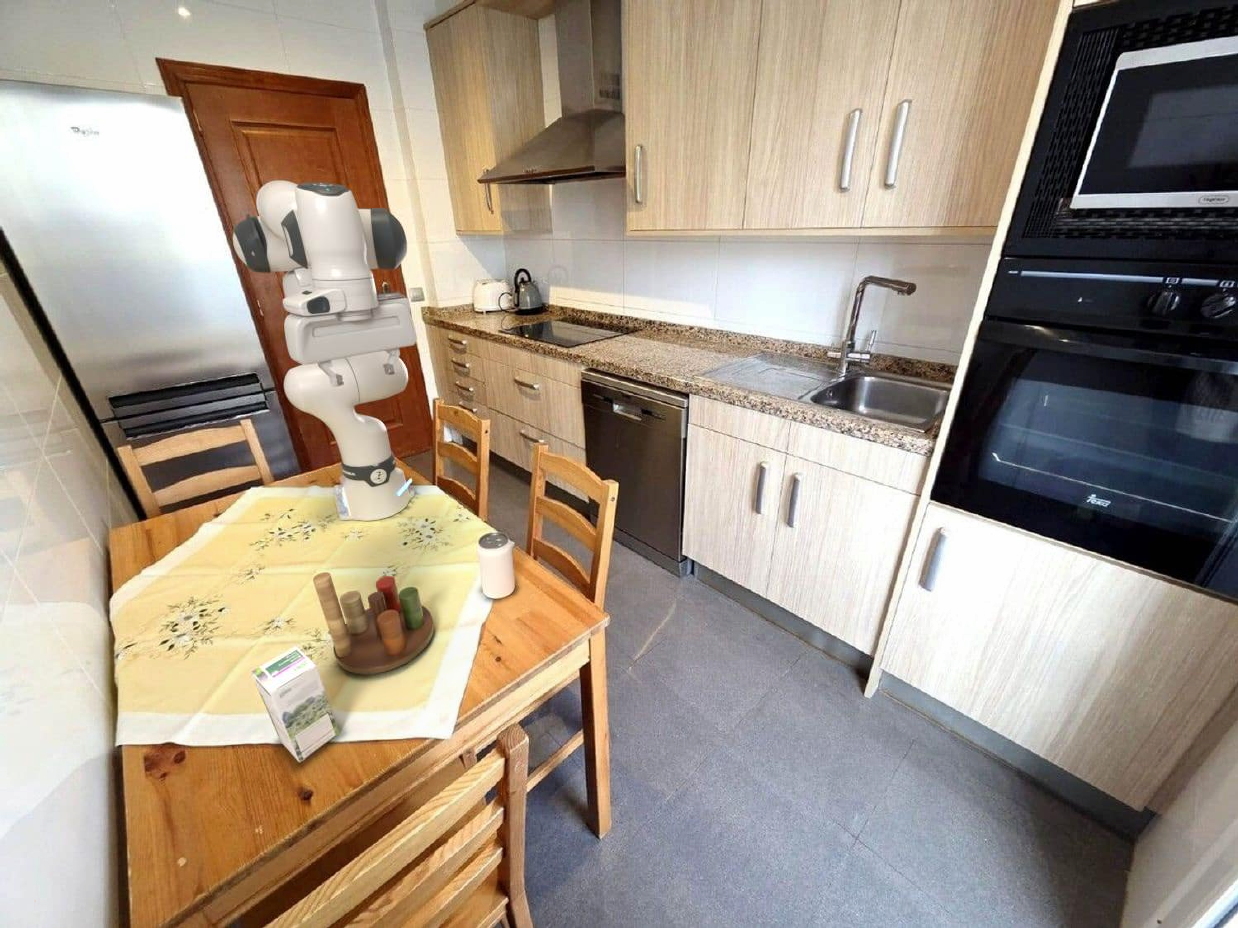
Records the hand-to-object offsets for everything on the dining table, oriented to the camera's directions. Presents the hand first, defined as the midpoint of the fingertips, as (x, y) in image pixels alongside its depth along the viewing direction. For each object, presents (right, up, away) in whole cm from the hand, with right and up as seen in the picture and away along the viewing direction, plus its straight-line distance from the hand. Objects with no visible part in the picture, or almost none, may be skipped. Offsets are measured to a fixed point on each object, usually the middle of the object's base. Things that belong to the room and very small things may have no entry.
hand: (365, 379), depth 87 cm
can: (+20, -40, +14) cm, 47 cm away
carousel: (+3, -45, +1) cm, 45 cm away
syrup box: (0, -54, -15) cm, 57 cm away
